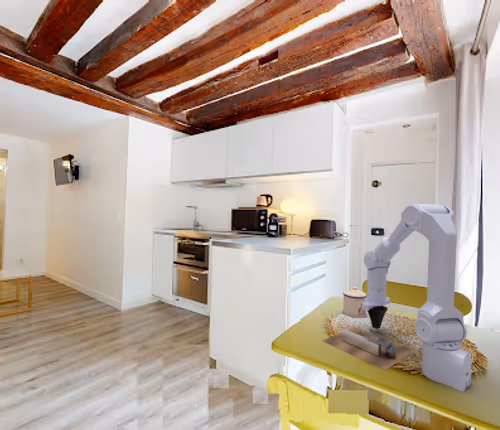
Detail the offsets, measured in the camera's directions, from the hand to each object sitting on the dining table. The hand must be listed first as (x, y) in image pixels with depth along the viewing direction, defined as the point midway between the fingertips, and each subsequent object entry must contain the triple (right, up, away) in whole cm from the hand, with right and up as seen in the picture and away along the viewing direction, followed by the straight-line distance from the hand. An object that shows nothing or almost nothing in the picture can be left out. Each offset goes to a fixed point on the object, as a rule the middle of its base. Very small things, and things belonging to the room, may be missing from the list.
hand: (376, 327), depth 90 cm
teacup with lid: (+1, -3, +21) cm, 21 cm away
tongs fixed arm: (-8, -1, -11) cm, 13 cm away
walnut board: (-7, -3, -9) cm, 11 cm away
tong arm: (-4, -2, -9) cm, 10 cm away
